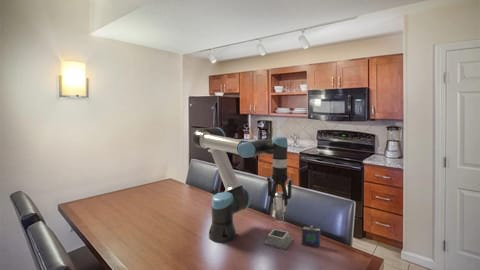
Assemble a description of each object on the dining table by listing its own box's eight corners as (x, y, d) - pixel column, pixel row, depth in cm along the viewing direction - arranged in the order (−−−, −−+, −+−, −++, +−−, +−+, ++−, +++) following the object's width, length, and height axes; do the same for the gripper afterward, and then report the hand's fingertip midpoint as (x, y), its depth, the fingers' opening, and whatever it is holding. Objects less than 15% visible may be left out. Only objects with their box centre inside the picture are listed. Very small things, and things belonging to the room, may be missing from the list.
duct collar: (263, 244, 137) (263, 235, 137) (271, 235, 148) (272, 226, 148) (285, 250, 132) (285, 241, 131) (292, 240, 142) (292, 231, 142)
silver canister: (273, 219, 138) (273, 193, 136) (276, 216, 142) (276, 191, 141) (282, 221, 135) (282, 195, 134) (285, 218, 140) (285, 192, 138)
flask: (319, 245, 137) (320, 225, 136) (320, 247, 134) (320, 227, 133) (301, 243, 139) (302, 223, 138) (301, 245, 136) (302, 226, 135)
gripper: (261, 166, 137) (261, 209, 139) (294, 169, 129) (293, 215, 131) (266, 163, 144) (266, 205, 146) (298, 166, 135) (297, 210, 137)
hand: (279, 210), depth 138 cm, fingers closed on silver canister, 5 cm apart
